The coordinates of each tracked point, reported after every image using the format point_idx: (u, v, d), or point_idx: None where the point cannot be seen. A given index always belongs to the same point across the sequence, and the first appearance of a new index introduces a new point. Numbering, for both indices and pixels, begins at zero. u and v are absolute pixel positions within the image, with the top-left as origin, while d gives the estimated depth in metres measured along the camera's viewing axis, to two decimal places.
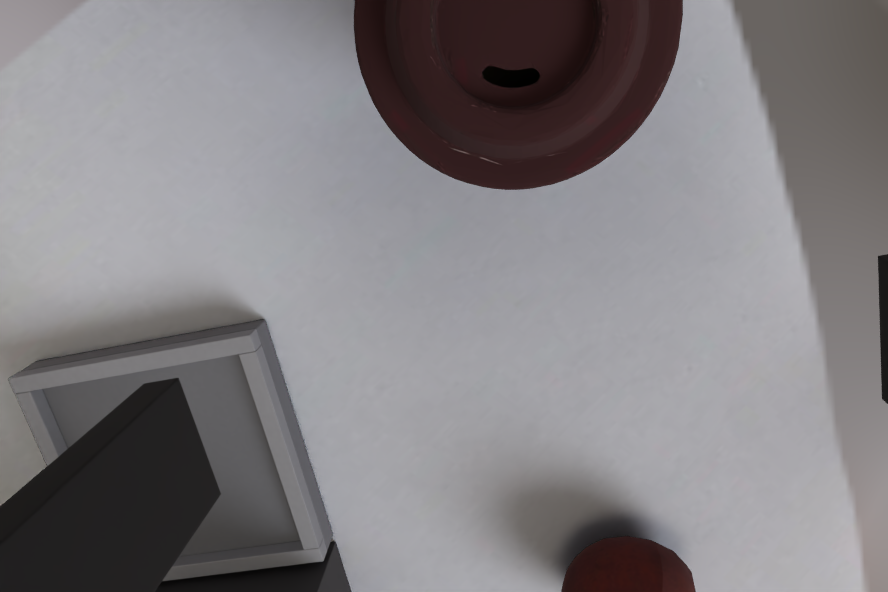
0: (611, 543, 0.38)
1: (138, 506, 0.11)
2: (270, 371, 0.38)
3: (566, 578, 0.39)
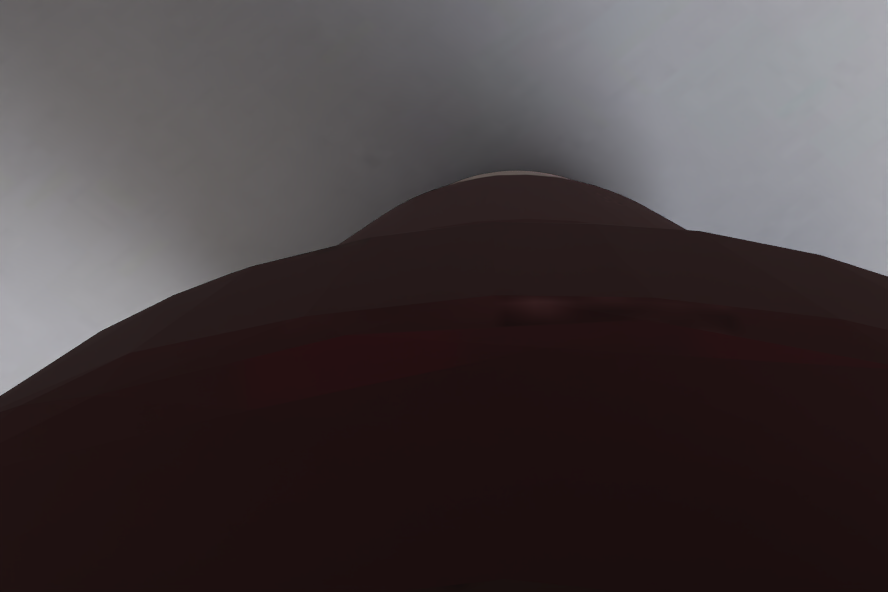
0: None
1: None
2: None
3: None
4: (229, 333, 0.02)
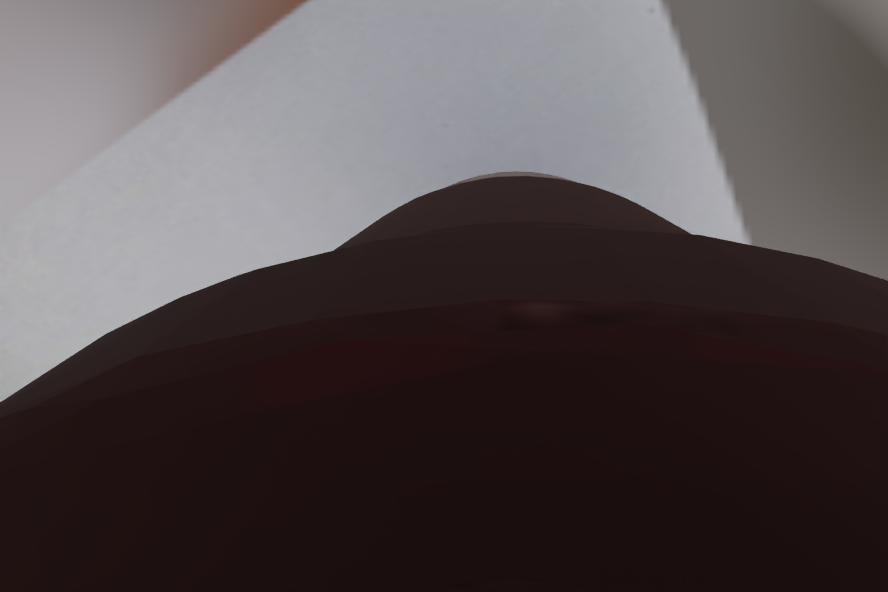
0: None
1: None
2: None
3: None
4: (237, 337, 0.02)
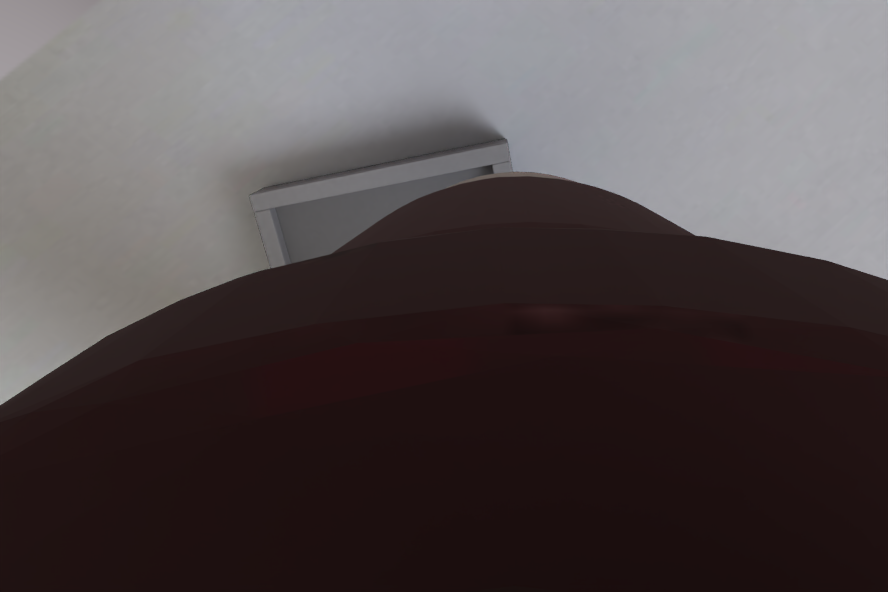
0: None
1: None
2: None
3: None
4: (240, 341, 0.02)
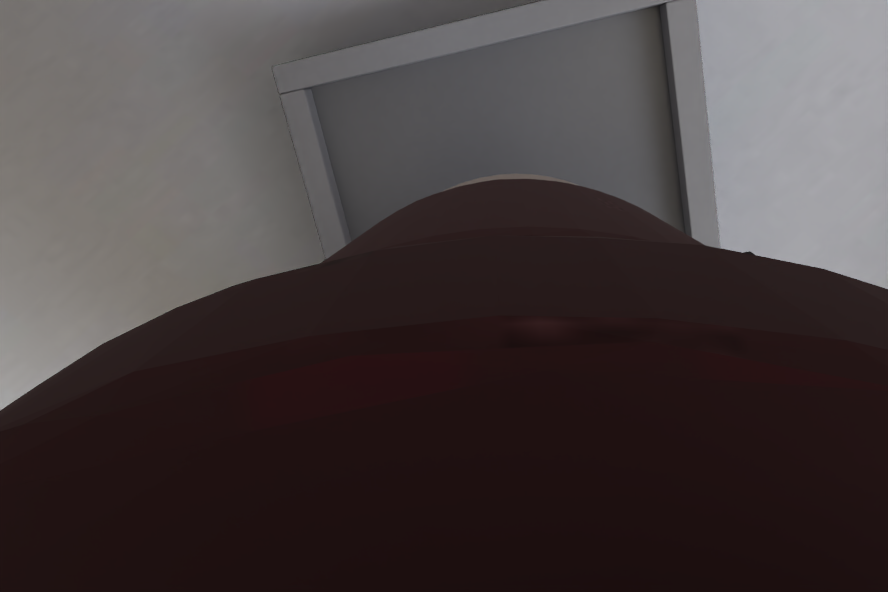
0: None
1: None
2: None
3: None
4: (234, 352, 0.02)
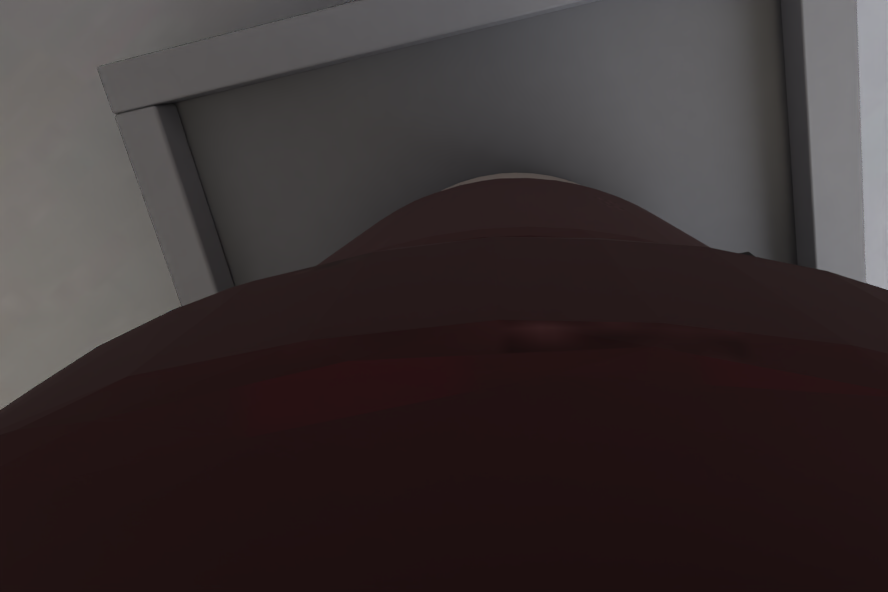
0: None
1: None
2: None
3: None
4: (229, 357, 0.02)
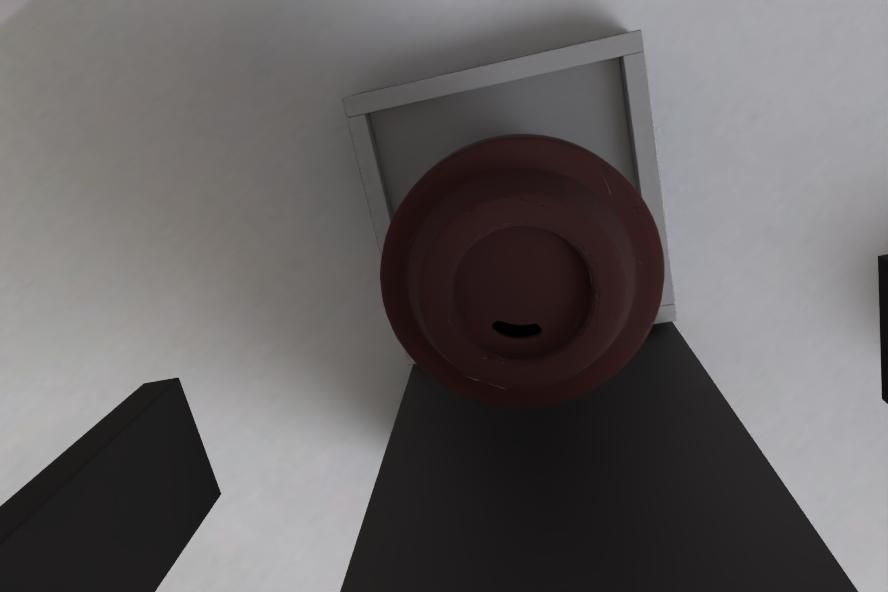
0: None
1: (138, 506, 0.11)
2: None
3: None
4: (487, 141, 0.22)
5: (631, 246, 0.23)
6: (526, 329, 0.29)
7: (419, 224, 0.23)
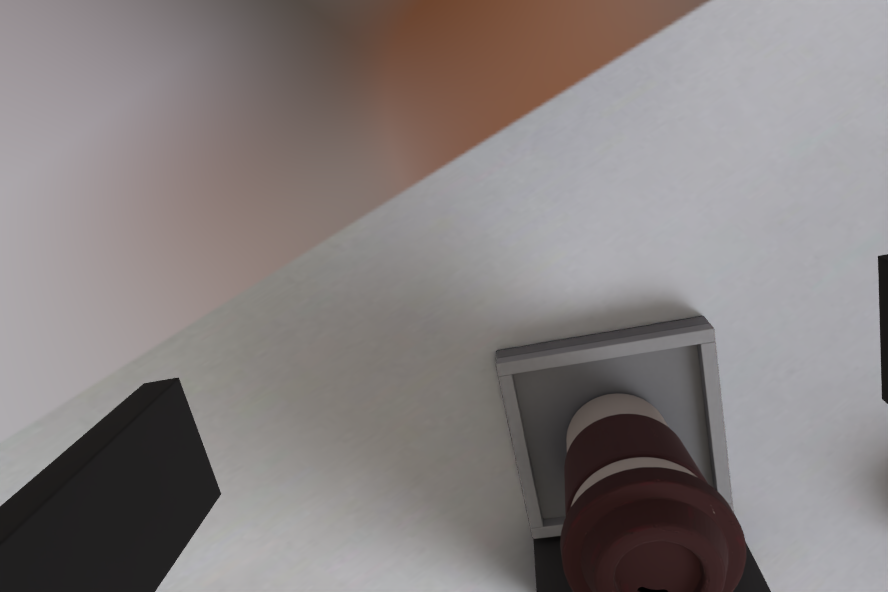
0: None
1: (138, 506, 0.11)
2: None
3: None
4: (637, 481, 0.36)
5: (726, 542, 0.36)
6: None
7: (591, 525, 0.37)
